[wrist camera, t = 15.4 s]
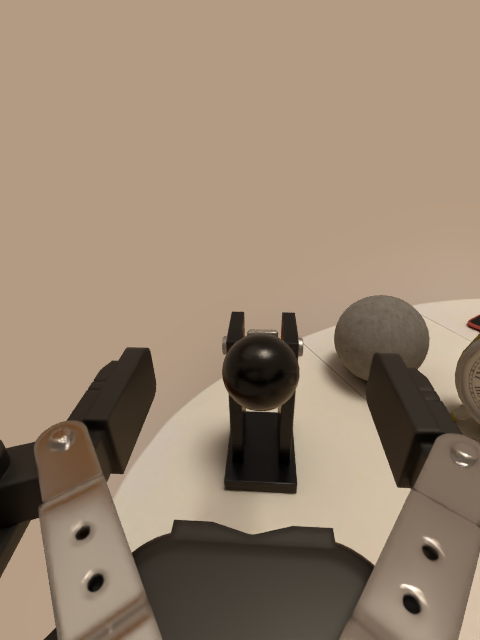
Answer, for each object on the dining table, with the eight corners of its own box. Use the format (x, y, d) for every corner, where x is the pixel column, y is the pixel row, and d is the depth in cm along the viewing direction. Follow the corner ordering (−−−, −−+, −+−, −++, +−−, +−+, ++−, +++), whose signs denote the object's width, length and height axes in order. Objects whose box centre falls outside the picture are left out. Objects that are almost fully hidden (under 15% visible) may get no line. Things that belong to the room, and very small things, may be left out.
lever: (302, 423, 13) (304, 336, 13) (216, 420, 14) (217, 335, 14) (283, 366, 28) (284, 323, 27) (241, 365, 28) (241, 323, 28)
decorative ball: (396, 349, 46) (414, 280, 41) (433, 401, 37) (460, 322, 32) (322, 350, 46) (330, 282, 41) (341, 403, 38) (354, 324, 32)
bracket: (296, 493, 29) (309, 359, 22) (224, 489, 29) (215, 357, 22) (291, 421, 35) (299, 302, 29) (233, 418, 36) (227, 301, 29)
